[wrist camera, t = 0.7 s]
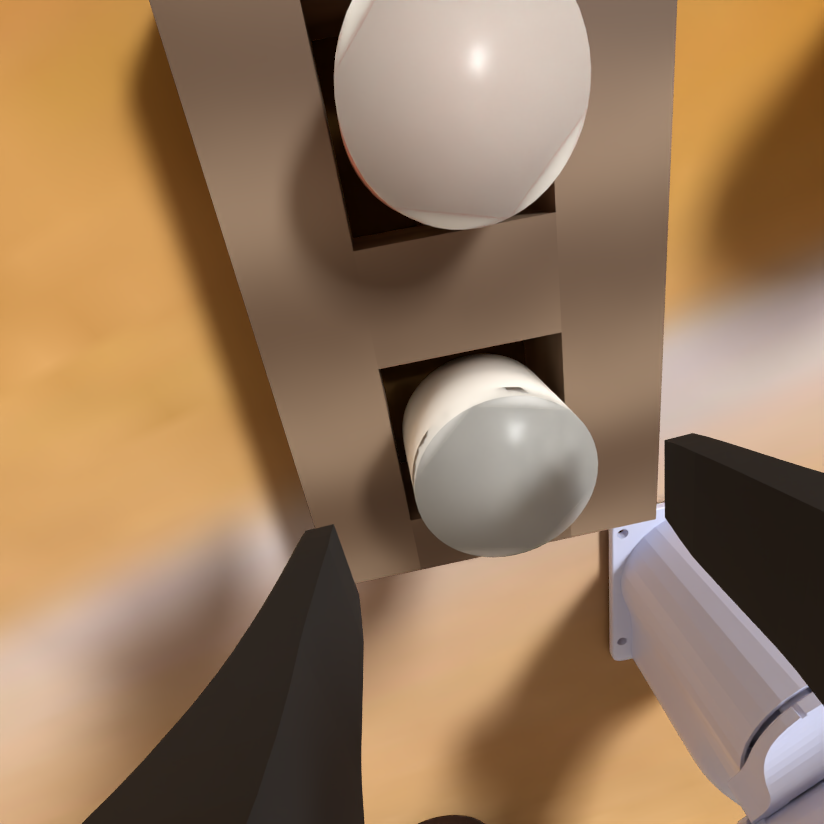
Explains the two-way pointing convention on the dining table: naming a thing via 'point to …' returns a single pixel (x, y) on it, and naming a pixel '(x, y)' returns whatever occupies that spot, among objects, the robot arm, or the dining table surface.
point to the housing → (434, 265)
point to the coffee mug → (452, 820)
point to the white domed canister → (495, 457)
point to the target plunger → (461, 103)
